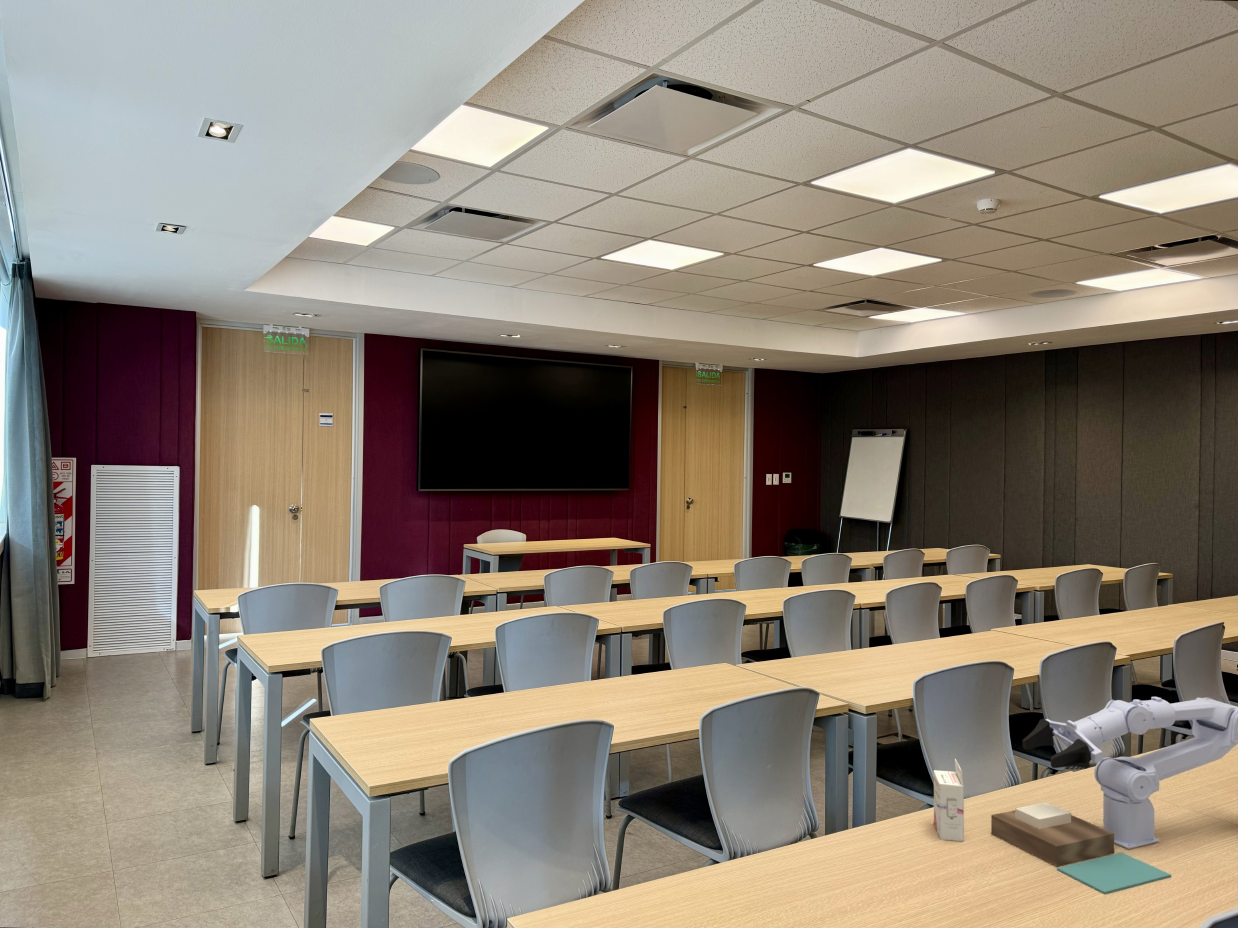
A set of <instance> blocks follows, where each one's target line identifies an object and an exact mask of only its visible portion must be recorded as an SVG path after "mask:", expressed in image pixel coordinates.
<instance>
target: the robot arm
mask: <svg viewBox="0 0 1238 928" xmlns="http://www.w3.org/2000/svg"><path fill="white" fill-rule="evenodd" d="M1176 721H1193V722H1192V731H1191V733H1192V735H1193V737H1191V738H1188V739H1186V740H1184V741H1183V740H1182V741H1180V742H1178V743H1174V744H1172V745H1169V746H1166V747H1163V748H1160V749H1158V750H1155V751H1152V752H1150V753H1147V754H1146V753H1145V754H1144V755H1142V756H1141V755H1140V756H1139V757H1134V756H1133V757H1132V756H1119V757H1109V756H1105V757H1104V754H1103V751H1102V750H1101V749H1100V748H1098V747H1097V746H1100V745H1102V744H1105V743H1107V742H1110V741H1112V740H1114V739H1117V738H1120V737H1122V736H1123V735H1126V734H1128V733H1131V734H1136V735H1141V736H1143V735H1144V734H1145V733H1147V731H1148V730H1151V729H1153V730H1154V729H1161V728H1169V727H1172V725H1174V724H1175V722H1176ZM1054 737H1056V738H1057V739H1058V740H1059V741H1060V742H1061V743H1062V744H1063V745H1064V746H1065V747H1066V748H1065V749H1063V750H1061V751H1059V752H1057V753H1055V754H1054V755H1052V756H1051V757H1049V761H1050V767H1051V768H1052V769H1058V768H1059V769H1060V768H1068V767H1069V768H1071V767H1073V768H1082V769H1083V768H1084V769H1088V768H1090V762H1091V761H1092V762H1093V763H1094V764H1096V765H1095V767H1094V779H1095V780H1096V782H1097V783H1098V784H1099V785H1100V791H1101V792H1102V793H1103V794H1102V795H1103V796H1102V798H1103V801H1102V802H1103V803H1102V804H1103V805H1102V807H1103V811H1102V812H1103V813H1102V814H1103V816H1102V817H1103V819H1102V821H1103V823H1102V825H1103V829H1105V830H1107V831H1110V832H1112V833H1114V844H1116V845H1118V846H1120V847H1122V848H1124V849H1133V848H1137V847H1142V846H1146V845H1150V844H1155V843H1158V842H1159V839H1158V838H1156V837H1155V808H1154V805H1153V803H1152V801H1151V799H1150V797H1151V796H1152V795H1153V794H1154V793H1156V792H1158V791H1160V782H1161V781H1163V780H1165V779H1168V778H1171V777H1174V776H1177V775H1180V774H1183V773H1185V772H1187V771H1190V770H1194V769H1196V768H1199V767H1202V766H1205V765H1208V764H1210V763H1212V762H1215V761H1218V760H1220V759H1223V757H1225V756H1226V755H1227V754H1229V752H1230V751H1231V750H1233V748H1235V747H1236V746H1237V745H1238V706H1236V705H1233V704H1230V703H1226V702H1223V701H1222V702H1221V701H1218V700H1215V699H1214V698H1212V697H1196V698H1195V699H1191V700H1186V701H1179V702H1174V703H1170V702H1168V701H1167V700H1165V699H1162V697H1158V696H1151V699H1149V700H1147V699H1146V700H1141V699H1133V700H1132V701H1130V702H1127V701H1124V700H1121V699H1117V700H1114V699H1111V700H1109V701H1108V702H1107V703H1106V704H1105V707H1104V708H1103V709H1101V710H1099V711H1097V712H1095V713H1093V714H1091V715H1088V716H1084V717H1083V718H1081V719H1078V720H1076V721H1072V720H1071V719H1070V720H1069V719H1068V720H1066V722H1059V721H1054V720H1050V719H1049V718H1046V719H1045V718H1041V719H1040V720H1038V724H1037V725H1036V726H1035V727H1034V729H1033V730H1032V731H1031V732H1030V733H1029V734H1028V735H1027V736H1025V737H1024V738H1023V739H1022V740H1021V741H1022V748H1023V749H1024V750H1026V751H1027V750H1029V751H1030V750H1032V749H1035V748H1037V747H1045V746H1049V747H1051V746H1052V747H1053V746H1054V745H1055V742H1054Z"/></svg>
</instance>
